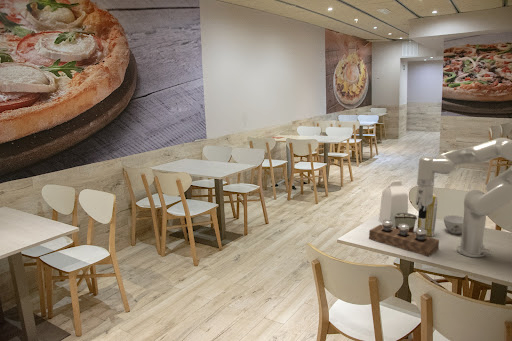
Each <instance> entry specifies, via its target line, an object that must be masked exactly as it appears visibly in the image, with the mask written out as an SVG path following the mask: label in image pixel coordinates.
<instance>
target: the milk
mask: <svg viewBox="0 0 512 341" xmlns="http://www.w3.org/2000/svg"><path fill="white" fill-rule="evenodd" d="M382 190H383V191H382V192H381V200H380V208H379V217H378V221H379V222H380V223H382V222H383V220H392V221H393V226H392V228H396V227H395V219H394V216H395V214H397V213H409V194H408V192H407V190H406V189H405V187H404V185H403V183H402V180H391V181H390V183H389V184H388V186H387V187H385V188H384V189H382Z"/></svg>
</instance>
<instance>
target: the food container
mask: <svg viewBox="0 0 512 341" xmlns="http://www.w3.org/2000/svg"><path fill="white" fill-rule="evenodd" d="M394 219H395V227H394V228H396V229H398V227H399V224H408V225H409V231H408V232H411V233H414V231H415V226H416V222H417V221H418V216H417V215H416V214H413V213H409V212H408V213H397V214H395V216H394Z"/></svg>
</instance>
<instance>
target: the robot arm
mask: <svg viewBox="0 0 512 341" xmlns="http://www.w3.org/2000/svg"><path fill="white" fill-rule="evenodd" d="M498 158H503V159H506V160H508V161H510V162H512V139H511V138H510V139H509V138H508V137H497V138H494V139H491V140H489V141H485V142H481V143H479V144H475V145H473V146H468V147H464V148H459V149H455V150H450V151H447V152H444V153H442V154H439V155H437V156H436V157H431V156H421V157H420V158H419V161H418V169H417V178H416V180H417V181H416V185H417V190H416V196H415V205H417V209H418V214H419V215H418V214H417V215H418V216H417V218H418V217H419V218H422V219H425V218H426V212H427V211H426V210H427V206H428V205H430V204H431V203H432V202H433V193H434V184H435V175H436V174H441V175H448V174H451V173H453V172H454V170H455V166H457V165H463V164H465V165H466V164H469V165H477V164H482V163H485V162H488V161H491V160H495V159H498ZM485 189H486V192H483V191H482V190H480V189H472V190H470V191H467V193H466V194H465V195H464V201H463V217H464V219H463V227H462V232H461V236H460V244H459V245H458V246H457V247H456V252H457V253H459V254H460V255H463V256H465V257H469V258H482V257H485V256H486V255H489V256H491V255H492V254H493V252H492V250H491V249H490V248H486V247H485V244H484V236H485V229H486V222H487V216H490V215H491V214H493V213H495V212H497V211H498V210H500V209H502V208H504V207H505V206H507V205H509V204H510V203H511V202H512V164H511V165H510V167H509V168H508V169H506V170H505V171H503V172H501V173H499V174H498V175H497V176H495V177H494V178H492V179H490V180H489V181H488V182H487V183H486V185H485Z"/></svg>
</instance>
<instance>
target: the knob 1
mask: <svg viewBox="0 0 512 341" xmlns="http://www.w3.org/2000/svg"><path fill="white" fill-rule="evenodd" d="M381 225H382V226H383V231H384V232H387V233H390V232H391V227H392V226H393V221H392V220H383V222H382V224H381ZM392 228H393V227H392Z"/></svg>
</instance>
